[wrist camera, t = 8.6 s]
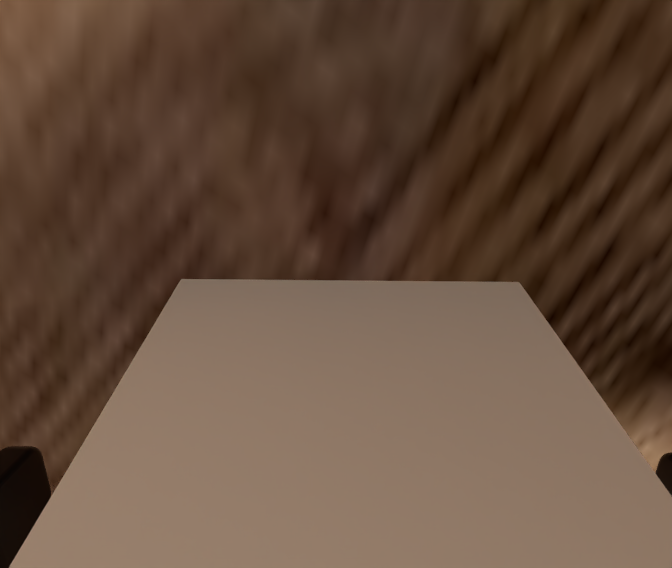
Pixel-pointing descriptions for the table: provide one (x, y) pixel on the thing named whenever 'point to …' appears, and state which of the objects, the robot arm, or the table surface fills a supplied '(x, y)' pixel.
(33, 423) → the table surface
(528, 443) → the cream block
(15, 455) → the robot arm
